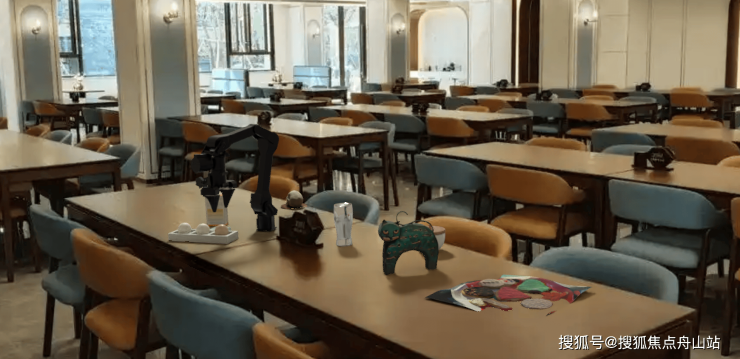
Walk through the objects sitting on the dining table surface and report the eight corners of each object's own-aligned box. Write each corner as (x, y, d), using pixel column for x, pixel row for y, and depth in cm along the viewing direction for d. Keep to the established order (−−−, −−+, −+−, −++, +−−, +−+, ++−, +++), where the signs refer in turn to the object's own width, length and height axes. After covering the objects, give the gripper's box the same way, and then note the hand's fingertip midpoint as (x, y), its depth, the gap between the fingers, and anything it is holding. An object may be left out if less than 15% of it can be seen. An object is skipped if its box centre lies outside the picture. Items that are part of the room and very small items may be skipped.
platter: (491, 273, 259) (491, 267, 258) (592, 293, 236) (593, 287, 235) (424, 300, 233) (424, 294, 233) (531, 326, 210) (531, 319, 210)
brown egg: (231, 236, 312) (230, 223, 312) (224, 239, 308) (224, 226, 307) (219, 236, 314) (218, 222, 313) (212, 238, 309) (211, 225, 308)
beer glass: (351, 247, 295) (350, 206, 293) (332, 246, 297) (331, 206, 294) (355, 242, 302) (354, 202, 300) (337, 242, 303) (335, 202, 301)
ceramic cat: (381, 276, 257) (380, 214, 254) (376, 271, 263) (374, 210, 260) (440, 270, 262) (440, 209, 259) (434, 265, 268) (433, 205, 265)
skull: (274, 204, 374) (287, 186, 377) (290, 217, 379) (302, 199, 381) (285, 207, 364) (298, 189, 366) (301, 220, 369) (314, 202, 371)
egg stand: (231, 231, 325) (230, 226, 325) (223, 235, 319) (223, 230, 319) (216, 230, 327) (216, 226, 327) (209, 234, 321) (208, 229, 321)
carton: (238, 238, 314) (237, 222, 313) (227, 243, 305) (226, 227, 304) (180, 235, 321) (179, 219, 320) (168, 240, 313) (167, 224, 312)
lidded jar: (443, 254, 281) (443, 228, 280) (413, 253, 284) (412, 227, 282) (447, 247, 292) (446, 221, 290) (417, 246, 294) (417, 221, 292)
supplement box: (228, 223, 340) (227, 193, 338) (225, 226, 335) (224, 195, 333) (209, 224, 341) (207, 193, 339) (206, 226, 336) (204, 195, 334)
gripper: (210, 165, 318) (213, 204, 320) (186, 172, 300) (189, 214, 303) (236, 166, 314) (238, 205, 317) (213, 173, 297) (215, 215, 299)
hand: (220, 209), depth 309 cm, fingers open, 9 cm apart
